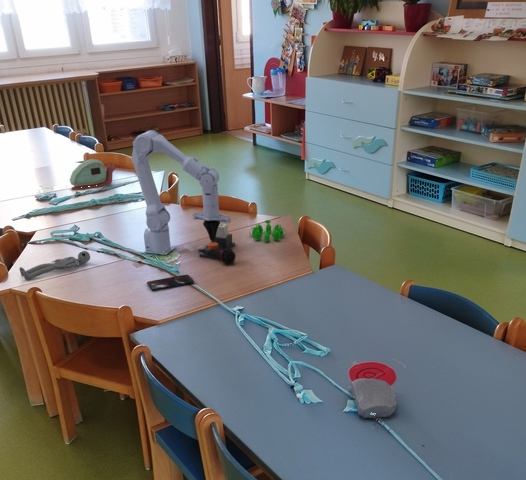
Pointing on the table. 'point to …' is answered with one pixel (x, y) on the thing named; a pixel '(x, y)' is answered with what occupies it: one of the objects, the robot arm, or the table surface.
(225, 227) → the block
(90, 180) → the toy snail
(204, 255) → the adapter
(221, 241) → the socket
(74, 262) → the alien figure
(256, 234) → the chandelier
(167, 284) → the smartphone
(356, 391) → the stone block
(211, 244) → the power button
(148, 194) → the robot arm
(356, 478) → the table surface
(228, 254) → the microphone
